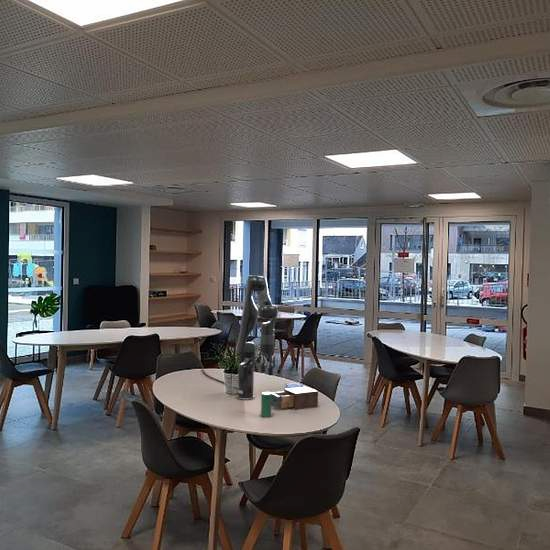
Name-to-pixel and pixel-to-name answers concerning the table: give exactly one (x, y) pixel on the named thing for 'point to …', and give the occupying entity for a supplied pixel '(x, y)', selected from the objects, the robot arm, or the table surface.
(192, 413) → the table surface
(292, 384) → the hippopotamus toy
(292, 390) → the cabinet
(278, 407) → the drawer
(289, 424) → the table surface
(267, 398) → the can
